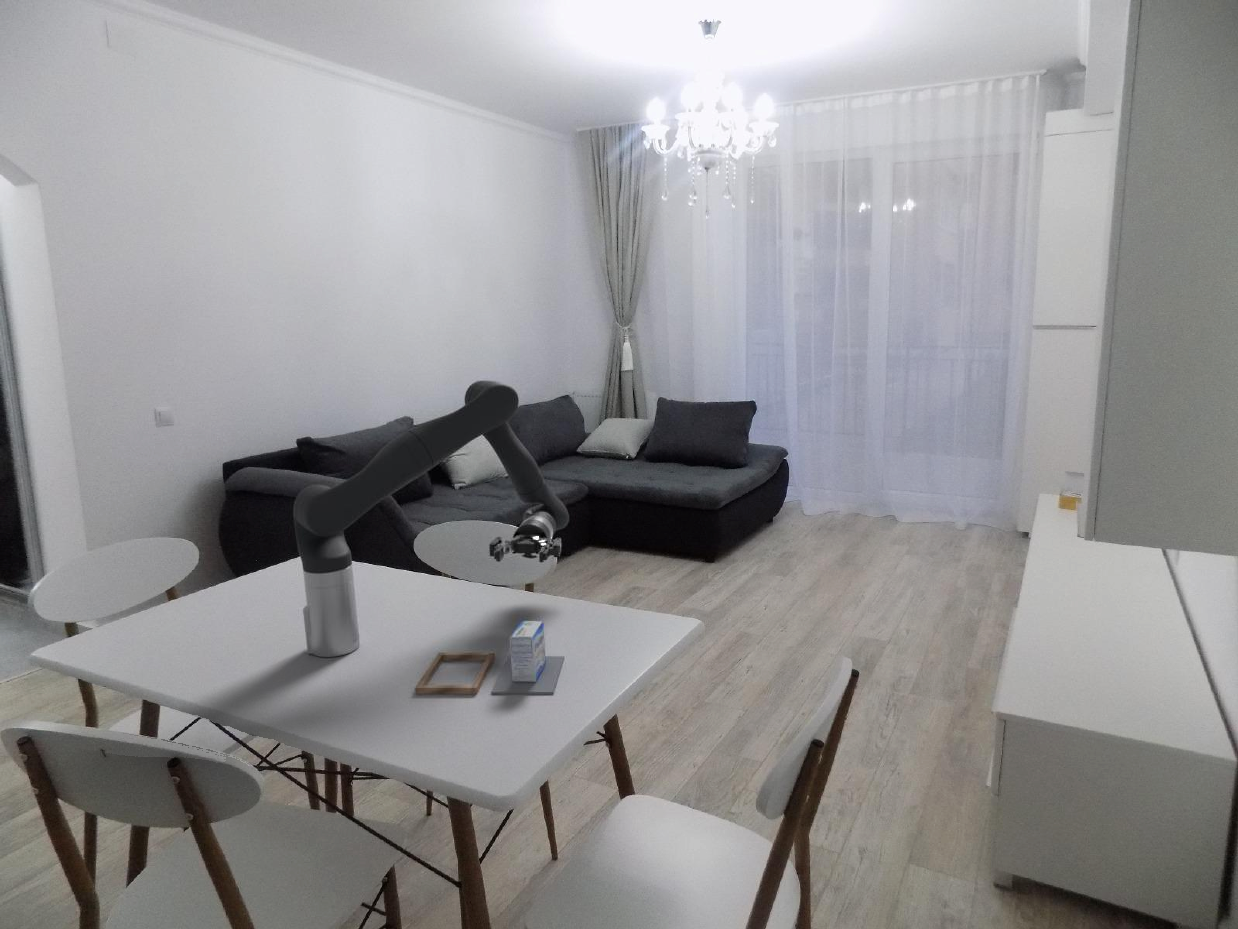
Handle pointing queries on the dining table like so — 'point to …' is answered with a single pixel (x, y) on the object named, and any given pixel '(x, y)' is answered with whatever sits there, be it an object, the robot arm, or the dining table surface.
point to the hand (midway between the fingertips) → (519, 557)
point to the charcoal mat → (541, 686)
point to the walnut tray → (455, 689)
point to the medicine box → (527, 651)
